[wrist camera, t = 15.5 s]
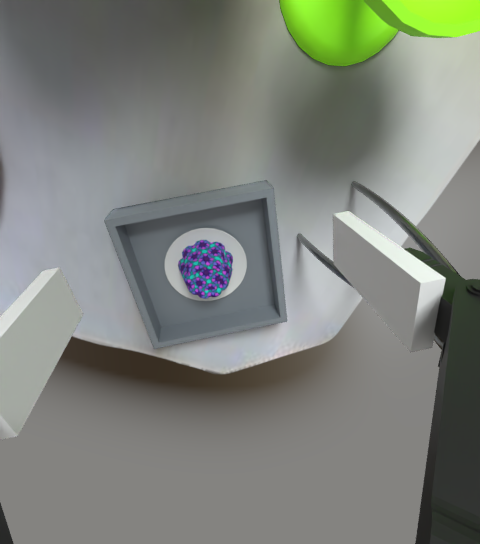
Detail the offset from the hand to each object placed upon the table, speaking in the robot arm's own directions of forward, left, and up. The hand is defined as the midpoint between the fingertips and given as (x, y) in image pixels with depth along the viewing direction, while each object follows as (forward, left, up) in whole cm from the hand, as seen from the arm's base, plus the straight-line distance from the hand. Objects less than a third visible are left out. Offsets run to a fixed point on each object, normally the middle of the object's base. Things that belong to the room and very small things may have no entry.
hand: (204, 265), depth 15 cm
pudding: (+14, -2, -28) cm, 31 cm away
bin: (+14, -2, -29) cm, 32 cm away
